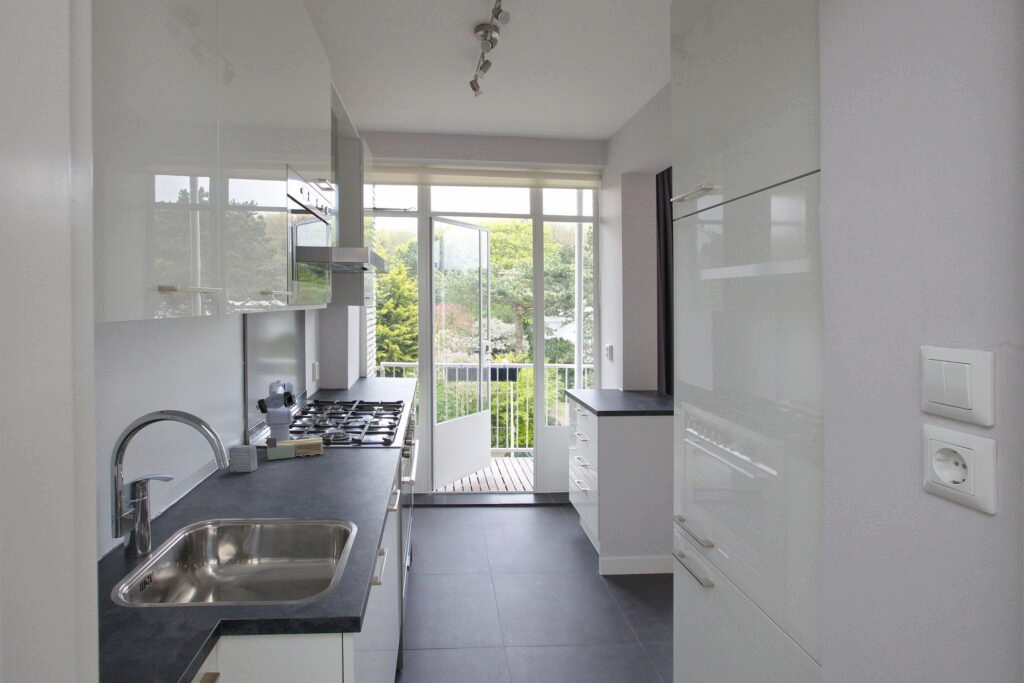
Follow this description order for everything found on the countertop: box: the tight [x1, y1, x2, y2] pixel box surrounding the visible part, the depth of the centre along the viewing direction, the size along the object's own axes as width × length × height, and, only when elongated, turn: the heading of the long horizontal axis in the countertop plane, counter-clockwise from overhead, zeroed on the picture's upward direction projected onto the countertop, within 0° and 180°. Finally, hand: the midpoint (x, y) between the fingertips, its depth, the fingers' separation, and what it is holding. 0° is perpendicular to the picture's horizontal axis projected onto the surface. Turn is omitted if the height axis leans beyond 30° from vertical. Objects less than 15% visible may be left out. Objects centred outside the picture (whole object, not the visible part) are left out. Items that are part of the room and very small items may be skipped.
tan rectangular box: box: [266, 437, 324, 458], centre depth 239 cm, size 8×20×5 cm, turn 108°
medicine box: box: [228, 444, 259, 473], centre depth 217 cm, size 8×4×9 cm, turn 84°
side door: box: [266, 437, 297, 461], centre depth 233 cm, size 1×10×8 cm, turn 108°
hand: (274, 407), depth 230 cm, fingers open, 7 cm apart
